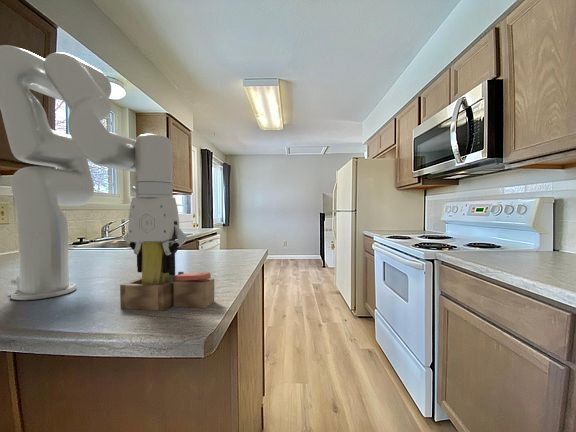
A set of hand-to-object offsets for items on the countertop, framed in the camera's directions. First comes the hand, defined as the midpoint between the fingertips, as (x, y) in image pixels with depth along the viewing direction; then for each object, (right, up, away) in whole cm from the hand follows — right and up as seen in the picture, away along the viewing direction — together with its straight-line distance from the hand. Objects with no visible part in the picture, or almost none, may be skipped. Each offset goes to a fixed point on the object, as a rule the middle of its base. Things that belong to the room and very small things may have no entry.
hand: (155, 270), depth 66 cm
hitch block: (+4, -7, -1) cm, 8 cm away
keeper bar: (+9, -2, -1) cm, 9 cm away
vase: (0, -5, 0) cm, 5 cm away
